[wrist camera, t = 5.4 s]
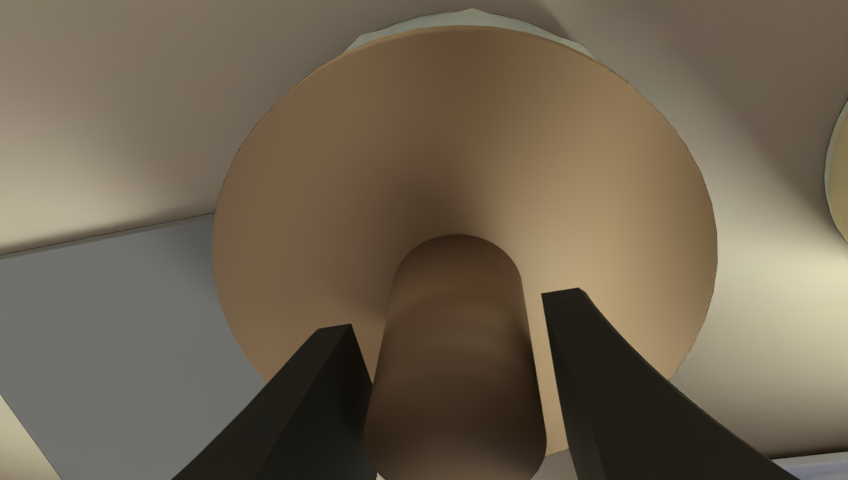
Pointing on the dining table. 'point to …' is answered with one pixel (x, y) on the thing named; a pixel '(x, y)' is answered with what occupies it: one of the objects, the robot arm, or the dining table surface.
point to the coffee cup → (838, 173)
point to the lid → (462, 236)
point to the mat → (121, 351)
